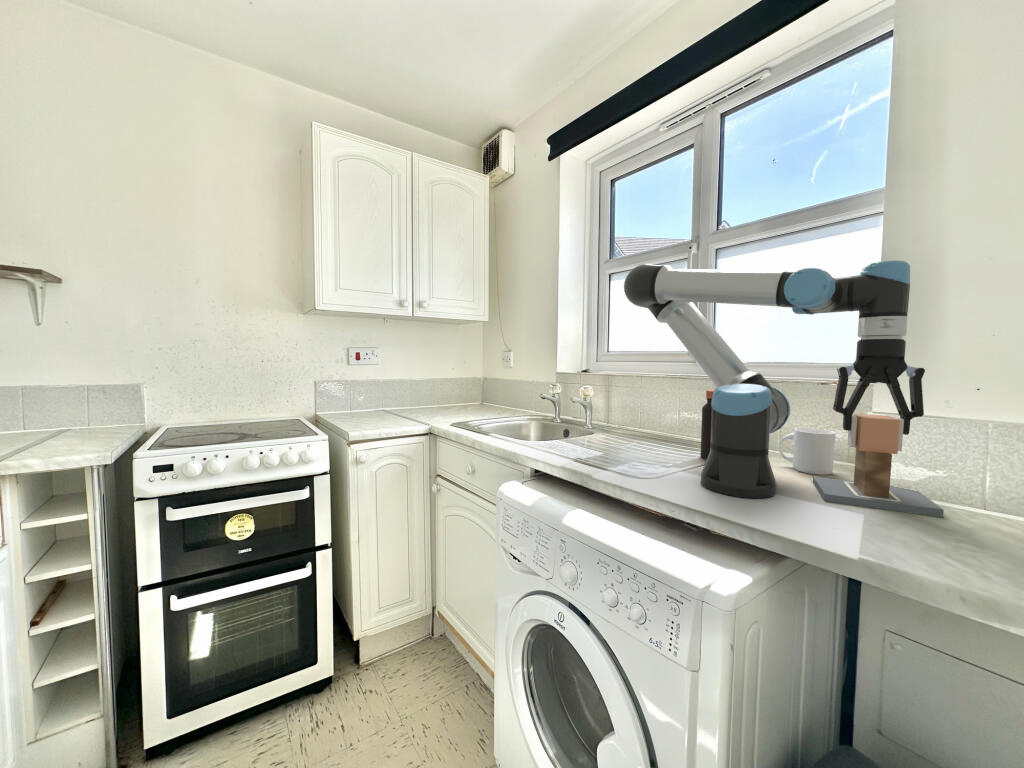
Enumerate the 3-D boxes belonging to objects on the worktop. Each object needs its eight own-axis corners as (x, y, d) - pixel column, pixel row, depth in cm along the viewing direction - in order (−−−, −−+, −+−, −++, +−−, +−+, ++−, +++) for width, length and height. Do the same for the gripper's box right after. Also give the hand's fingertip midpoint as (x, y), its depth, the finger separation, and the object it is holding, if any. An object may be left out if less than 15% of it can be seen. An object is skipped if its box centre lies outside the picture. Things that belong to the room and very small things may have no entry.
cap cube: (859, 450, 85) (861, 417, 85) (851, 445, 90) (853, 413, 90) (897, 454, 82) (899, 419, 82) (887, 448, 87) (889, 416, 87)
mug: (782, 462, 116) (784, 425, 115) (835, 470, 108) (837, 430, 107) (774, 468, 110) (776, 428, 109) (829, 477, 102) (832, 435, 101)
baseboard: (824, 500, 85) (824, 493, 85) (812, 482, 97) (813, 476, 97) (943, 517, 77) (943, 509, 77) (914, 495, 89) (914, 488, 89)
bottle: (727, 462, 116) (730, 392, 114) (700, 459, 118) (703, 391, 117) (724, 456, 122) (727, 390, 121) (699, 454, 125) (702, 389, 123)
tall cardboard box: (863, 494, 85) (866, 452, 84) (853, 484, 92) (856, 444, 91) (888, 498, 83) (892, 454, 82) (876, 487, 90) (879, 446, 89)
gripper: (825, 338, 86) (819, 446, 88) (955, 336, 77) (946, 457, 78) (819, 339, 93) (813, 439, 94) (938, 338, 83) (929, 449, 85)
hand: (873, 447), depth 86 cm, fingers open, 7 cm apart
